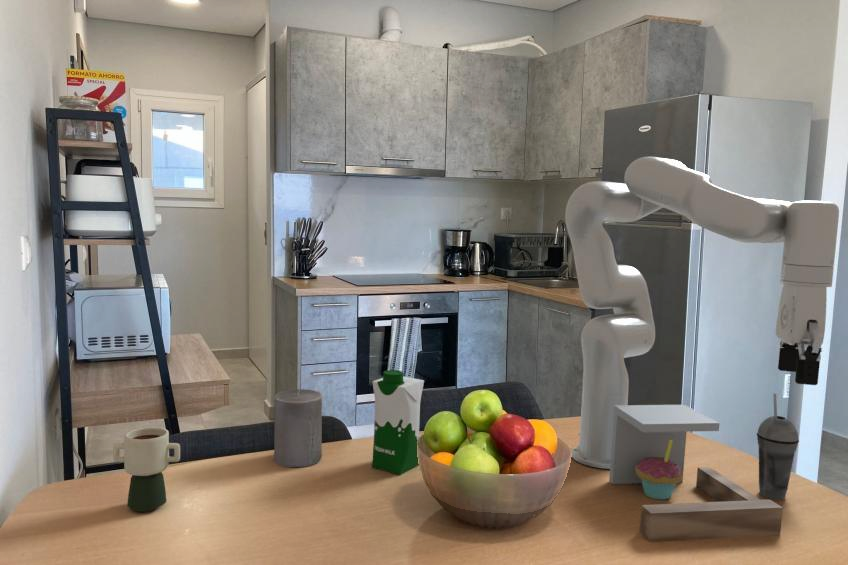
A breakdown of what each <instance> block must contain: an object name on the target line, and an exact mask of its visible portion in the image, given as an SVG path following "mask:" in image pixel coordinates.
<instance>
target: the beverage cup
mask: <svg viewBox="0 0 848 565" xmlns="http://www.w3.org/2000/svg"><path fill="white" fill-rule="evenodd" d="M777 403H778V402H777V393H773V415H772V416H769V417H767V418H765V419H764V420H763V421H762V422H761V423H760V424H759V427H758V429H757V432H756V436H757V437H756V438H757V446H758V488H759V491H758V492H759V493H758V494H760V495H761V496H762V497H763V498H767V499H768V500H774V501H782V500H785V499H786V495H787V491H788V487H789V485H790V484H789V483H790V477H791V473H792V466H793V464H794V463H793V462H794V456H795V452H796V450H797V448H798V443H800V440H799V432H798V429H797V427H796V425H795V424H794V423H793V422H792V421H791V420H789V418H787V417H784V416H780V415H778V408H777V406H778V405H777Z"/></svg>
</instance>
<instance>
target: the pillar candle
mask: <svg viewBox="0 0 848 565" xmlns="http://www.w3.org/2000/svg"><path fill="white" fill-rule="evenodd" d="M322 402H323V394H322V393H321V392H319V391H316V390H313V389H301V388H299V389H287V390H282V391H280V392H277V393H276V394H275V395H274V434H273V435H274V443H273V445H274V450H273V455H274V456H273V459H274V462H275V464H277V465H279V466H281V467H284V468H297V467H298V468H301V467H302V468H307V467H312V466H314V465H316V464H318V463H320V461H321V460H322V457H323V450H322V445H323V444H322V442H323V439H322V437H323V436H322V429H323V428H322V424H323V420H322V419H323V416H322V414H323V413H322V412H323V403H322Z"/></svg>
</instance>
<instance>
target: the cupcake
mask: <svg viewBox="0 0 848 565" xmlns="http://www.w3.org/2000/svg"><path fill="white" fill-rule="evenodd" d="M672 438H673V436H672ZM672 438H671V439H669V443H668V447H667V451H666V455H665V457H650V458H649V457H647V458H645V459H643V460H641V461H639V462H638V463H637V465H636V467H635V471H636V474H637V476H638V477H639V478H641V481H642V483H641V484H642V487H643V492H644V494H645V495H646V496H648V497H650V498H652V499H656V500H668V499H670V498H671V496H672V493H673V491H674V489H675V487H676V485H679V483H682V482H681V481H682V476H683V477H684V472H683V473H682V470H681V469H680V468H679V466H678V465H677V464H675V463H674V462H673V461H671V460H670V459H668V458H669V454H670V450H671V446H672V442H673V440H672Z"/></svg>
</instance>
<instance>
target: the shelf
mask: <svg viewBox="0 0 848 565" xmlns="http://www.w3.org/2000/svg"><path fill="white" fill-rule="evenodd" d="M719 431H720V422H718V421H717V420H715V419H712V418H710V417H708V416H706V415H705V414H703V413H701V412H700V411H697V410H695V409H694V408H692V407H690V406H688V405H686V404H633V405H631V404H630V405H629V404H627V405H614V418H613V433H612V448H611V463H610V469H609V481H608V482H609V483H610V484H611V485H627V484H628V485H629V484H630V485H631V484H632V483H634V484H642V481H641V478H639V477H638V476H637V474H636V471H635V467H636V465H637V463H638V462H639V461H641V460H643V459H645V458H647V457H649V458H650V457H665V455H666V451H667V447H668V443H669V439H671V438H672V436H673V438H672V440H673V442H672V446H671V450H670V454H669V458H668V459H670V460H671V461H673V462H674V463H675V464H677V465H678V466H679V468H680V469H681V470H682V473H683V474H684V469H685V456H686V444H687V443H686V442H687V433H688V432H689V433H690V432H719ZM683 480H684V475H683V476H682V481H681V482H680V483H683V482H684V481H683Z"/></svg>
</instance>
